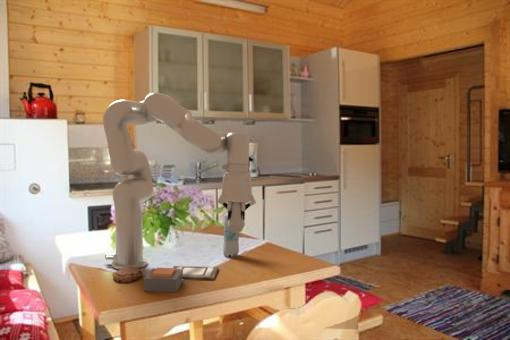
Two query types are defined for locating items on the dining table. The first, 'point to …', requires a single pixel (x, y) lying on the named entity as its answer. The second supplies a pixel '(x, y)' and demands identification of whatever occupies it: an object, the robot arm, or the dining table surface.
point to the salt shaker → (236, 218)
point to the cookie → (127, 275)
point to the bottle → (230, 240)
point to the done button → (164, 272)
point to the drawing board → (198, 272)
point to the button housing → (163, 282)
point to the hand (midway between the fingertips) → (236, 221)
